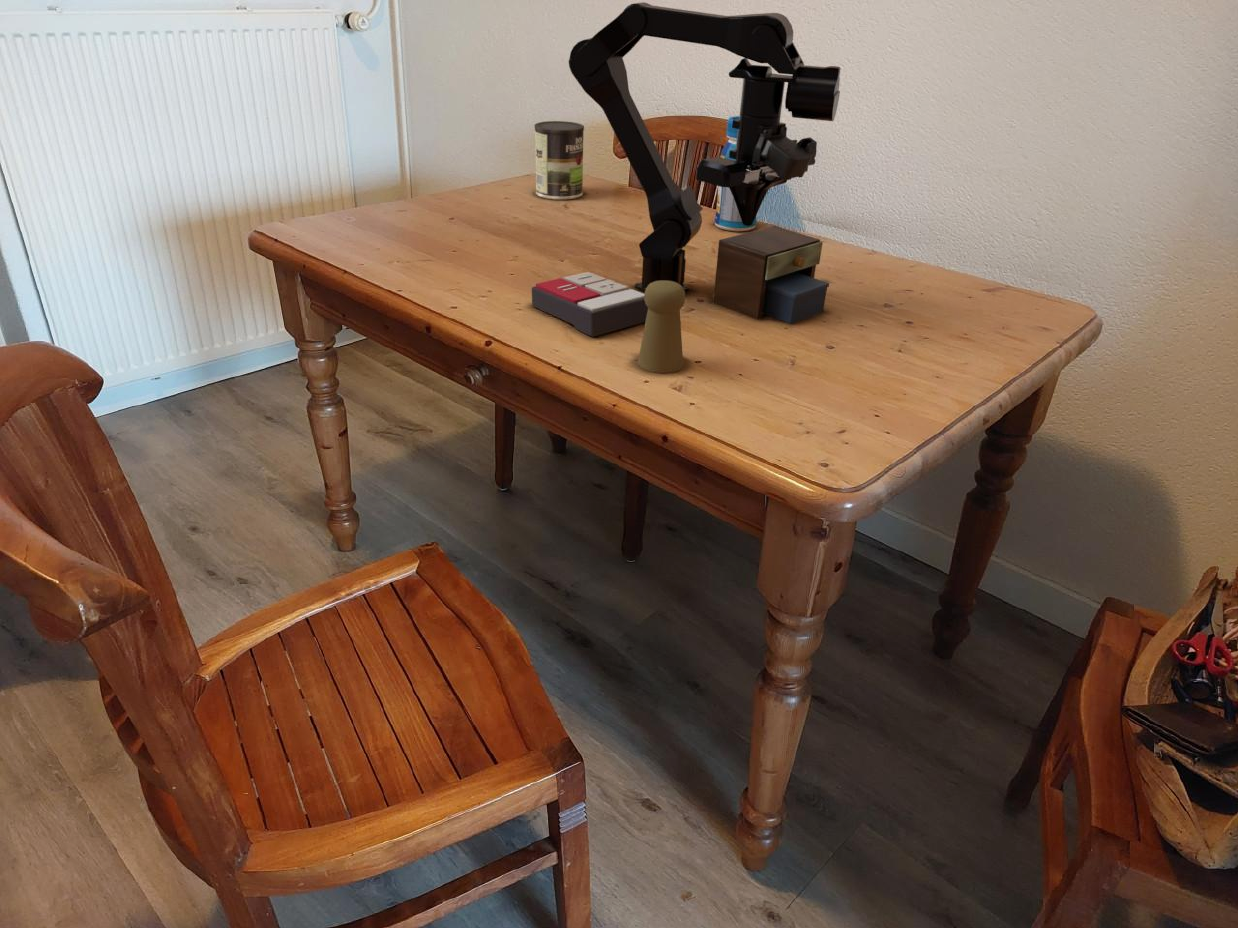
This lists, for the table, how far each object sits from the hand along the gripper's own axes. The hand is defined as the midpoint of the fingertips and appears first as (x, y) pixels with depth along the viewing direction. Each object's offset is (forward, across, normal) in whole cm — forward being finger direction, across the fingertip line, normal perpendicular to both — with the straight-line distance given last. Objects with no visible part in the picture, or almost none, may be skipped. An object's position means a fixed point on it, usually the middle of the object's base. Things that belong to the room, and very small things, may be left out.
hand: (747, 225), depth 130 cm
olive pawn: (+12, -26, -9) cm, 30 cm away
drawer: (+6, +3, -4) cm, 8 cm away
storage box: (+12, +3, -5) cm, 13 cm away
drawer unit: (+12, +3, -2) cm, 13 cm away
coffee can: (+12, +18, +67) cm, 71 cm away
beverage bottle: (+12, +31, +28) cm, 44 cm away
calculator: (+12, -22, +10) cm, 27 cm away
